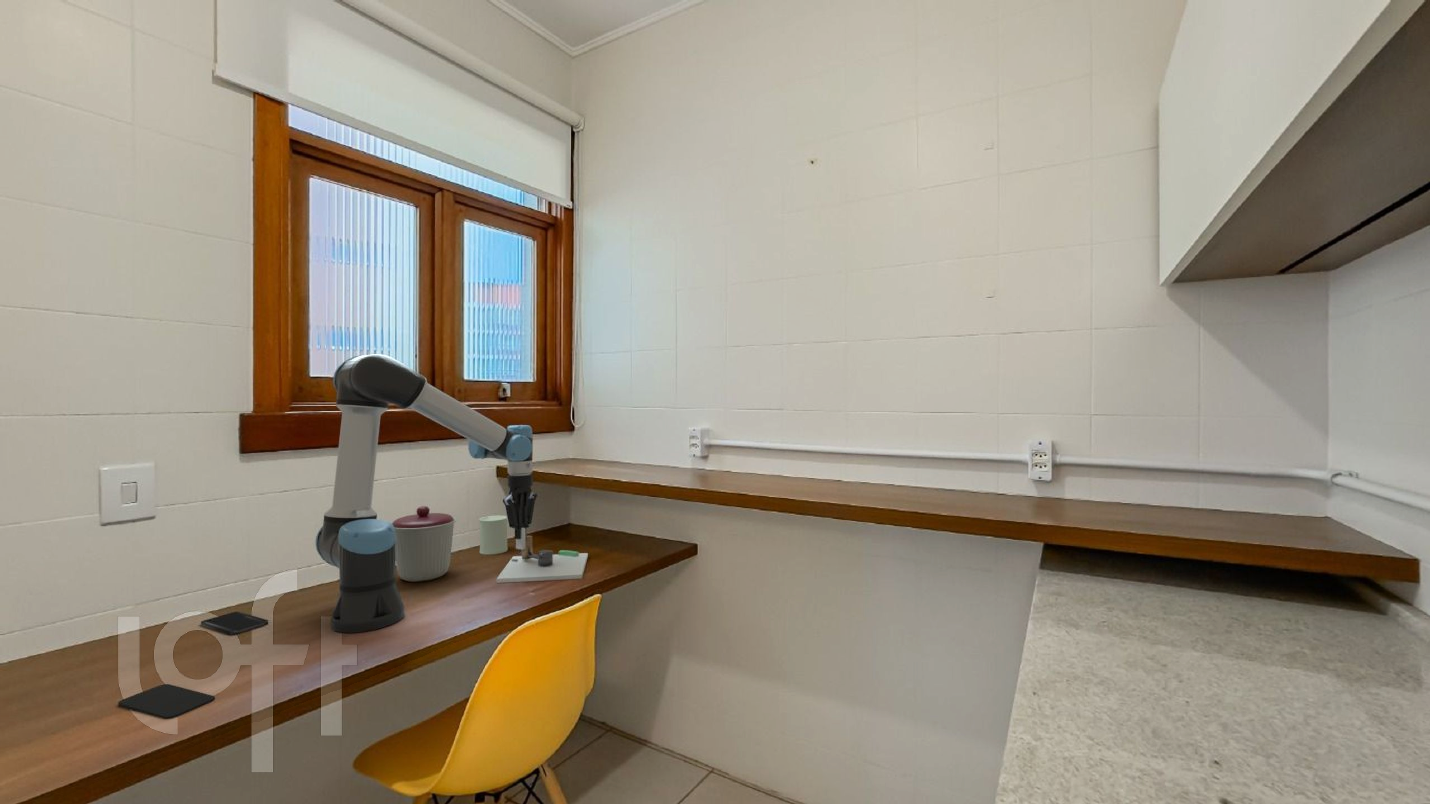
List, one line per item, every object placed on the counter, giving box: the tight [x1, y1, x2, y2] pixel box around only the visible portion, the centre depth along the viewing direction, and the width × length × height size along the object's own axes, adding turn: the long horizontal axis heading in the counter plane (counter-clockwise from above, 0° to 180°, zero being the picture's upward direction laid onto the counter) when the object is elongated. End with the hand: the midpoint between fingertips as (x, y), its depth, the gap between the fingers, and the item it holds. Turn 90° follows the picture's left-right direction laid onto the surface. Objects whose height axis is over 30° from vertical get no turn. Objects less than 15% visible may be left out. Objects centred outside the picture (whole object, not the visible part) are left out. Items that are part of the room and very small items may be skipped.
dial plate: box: [496, 549, 589, 584], centre depth 184 cm, size 24×24×2 cm
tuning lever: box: [518, 535, 554, 566], centre depth 187 cm, size 14×4×7 cm, turn 55°
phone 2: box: [200, 611, 269, 636], centre depth 141 cm, size 8×1×15 cm
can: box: [478, 515, 509, 556], centre depth 206 cm, size 9×9×12 cm
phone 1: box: [117, 683, 216, 720], centre depth 105 cm, size 7×1×15 cm
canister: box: [390, 505, 457, 582], centre depth 177 cm, size 18×18×21 cm
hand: (520, 548), depth 187 cm, fingers closed
